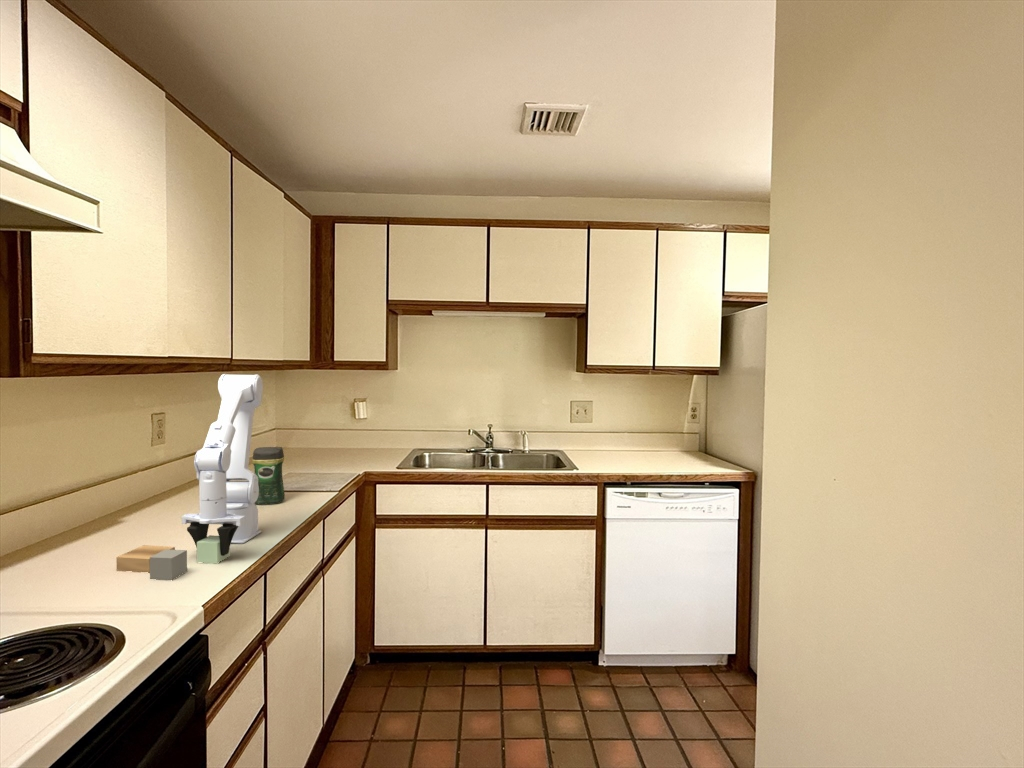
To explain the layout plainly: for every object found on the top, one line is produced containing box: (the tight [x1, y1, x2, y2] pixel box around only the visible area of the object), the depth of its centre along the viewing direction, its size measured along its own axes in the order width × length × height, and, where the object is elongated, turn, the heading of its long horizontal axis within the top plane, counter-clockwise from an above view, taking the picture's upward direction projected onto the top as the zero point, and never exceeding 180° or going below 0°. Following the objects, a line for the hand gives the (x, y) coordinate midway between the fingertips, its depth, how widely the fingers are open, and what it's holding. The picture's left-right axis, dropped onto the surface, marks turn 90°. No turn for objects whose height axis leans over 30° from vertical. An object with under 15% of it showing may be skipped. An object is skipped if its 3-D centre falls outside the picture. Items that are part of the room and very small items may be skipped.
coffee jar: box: [251, 446, 286, 505], centre depth 183 cm, size 10×8×19 cm
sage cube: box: [196, 534, 231, 564], centre depth 131 cm, size 5×5×5 cm
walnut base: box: [116, 544, 176, 574], centre depth 127 cm, size 8×8×4 cm
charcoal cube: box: [149, 549, 188, 581], centre depth 121 cm, size 5×5×5 cm
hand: (213, 553), depth 131 cm, fingers closed on sage cube, 5 cm apart
